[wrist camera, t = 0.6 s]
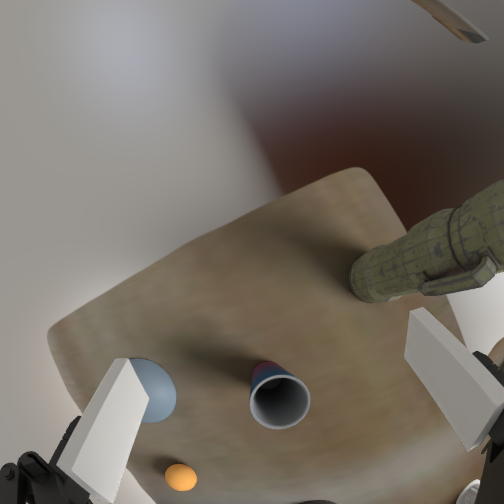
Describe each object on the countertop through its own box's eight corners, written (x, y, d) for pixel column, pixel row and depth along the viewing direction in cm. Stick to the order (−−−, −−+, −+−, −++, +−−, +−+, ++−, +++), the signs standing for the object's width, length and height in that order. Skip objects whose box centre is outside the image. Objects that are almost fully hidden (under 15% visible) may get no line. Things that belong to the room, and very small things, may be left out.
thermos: (401, 265, 47) (556, 195, 13) (373, 319, 44) (552, 303, 10) (366, 238, 48) (508, 130, 14) (335, 292, 45) (505, 233, 11)
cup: (293, 361, 42) (318, 381, 28) (281, 399, 41) (299, 433, 26) (253, 351, 43) (259, 368, 28) (241, 389, 41) (241, 422, 26)
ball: (203, 478, 36) (200, 493, 31) (177, 483, 36) (171, 497, 30) (190, 456, 38) (185, 470, 32) (163, 461, 37) (155, 475, 32)
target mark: (187, 414, 40) (187, 414, 39) (128, 427, 38) (128, 427, 38) (160, 350, 42) (159, 350, 42) (102, 367, 41) (102, 367, 40)
